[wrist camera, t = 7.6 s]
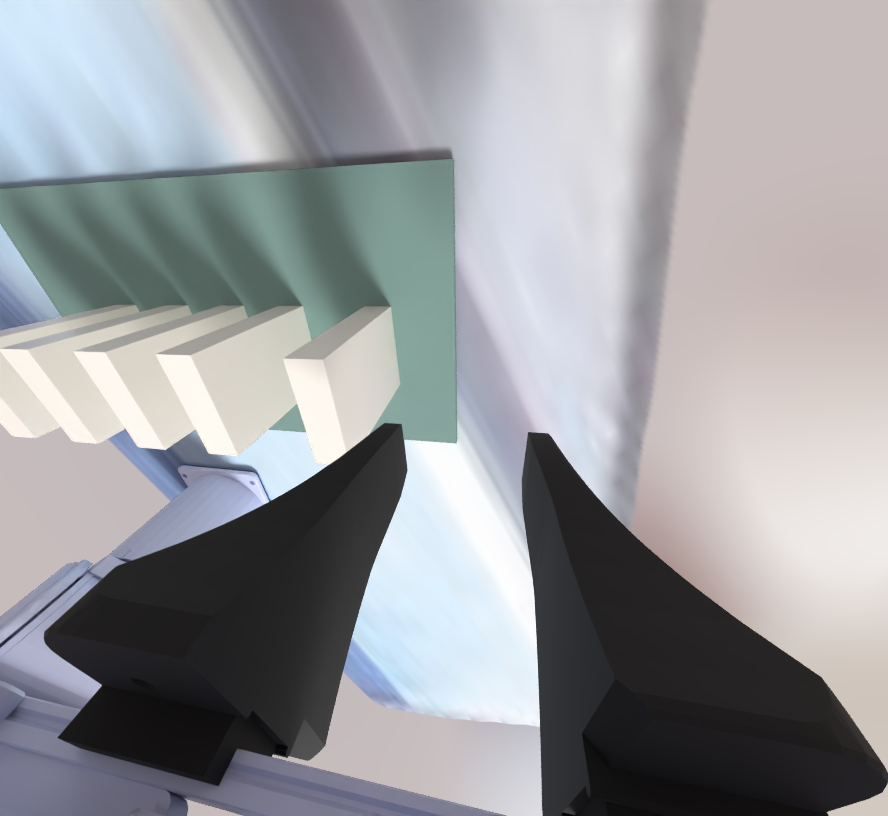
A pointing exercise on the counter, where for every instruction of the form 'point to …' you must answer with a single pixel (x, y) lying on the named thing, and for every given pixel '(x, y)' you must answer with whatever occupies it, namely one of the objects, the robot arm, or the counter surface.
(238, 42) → the counter surface
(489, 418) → the counter surface
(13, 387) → the end domino
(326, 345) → the domino
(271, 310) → the domino
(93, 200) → the mat
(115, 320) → the domino
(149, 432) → the domino
